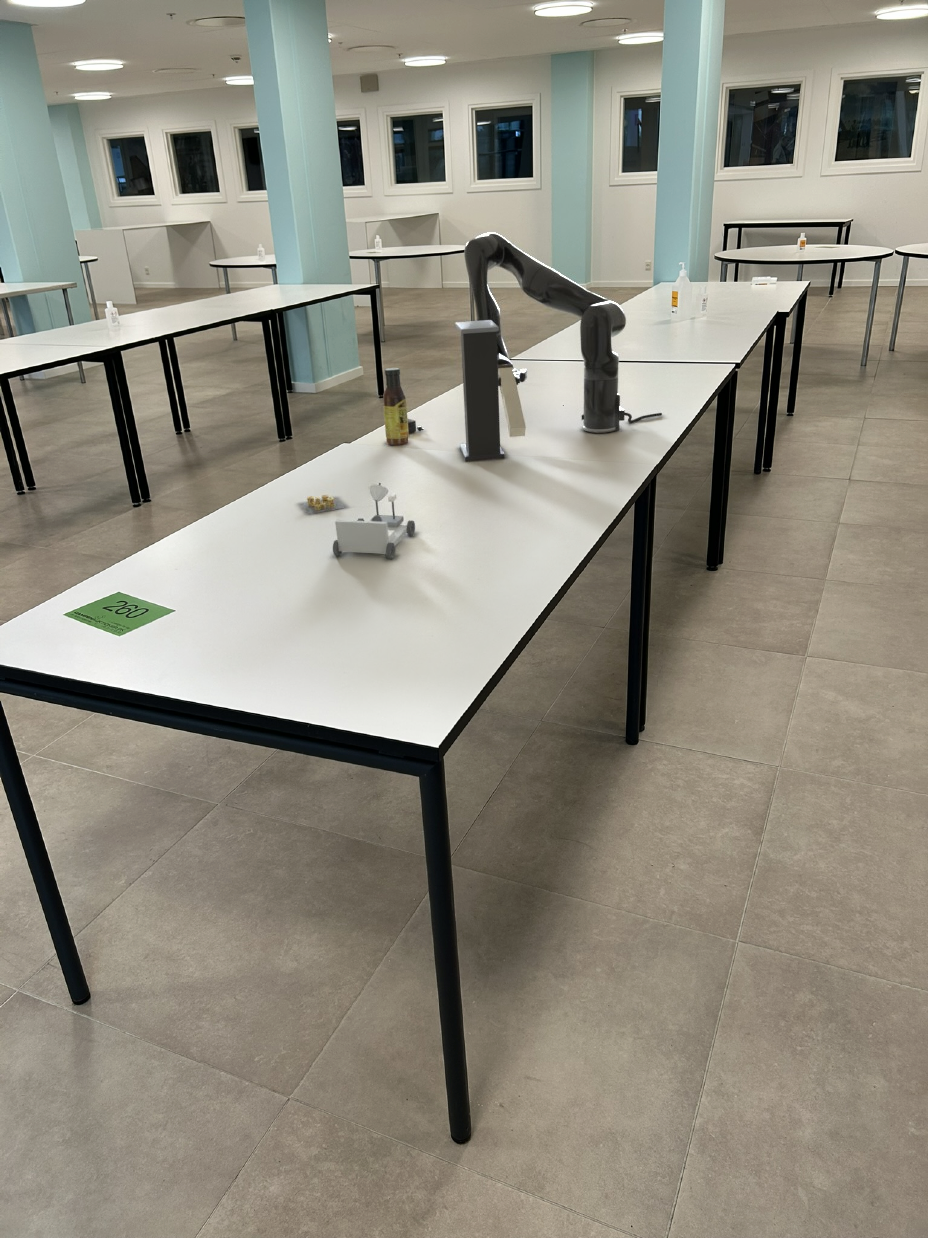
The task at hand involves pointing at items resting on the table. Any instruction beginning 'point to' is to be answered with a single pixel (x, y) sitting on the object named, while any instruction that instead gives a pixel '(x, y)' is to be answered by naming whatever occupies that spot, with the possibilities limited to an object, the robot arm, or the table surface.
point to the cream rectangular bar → (511, 401)
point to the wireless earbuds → (413, 426)
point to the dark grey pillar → (480, 390)
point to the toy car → (372, 530)
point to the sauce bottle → (395, 409)
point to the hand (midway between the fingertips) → (508, 381)
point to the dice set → (321, 504)
